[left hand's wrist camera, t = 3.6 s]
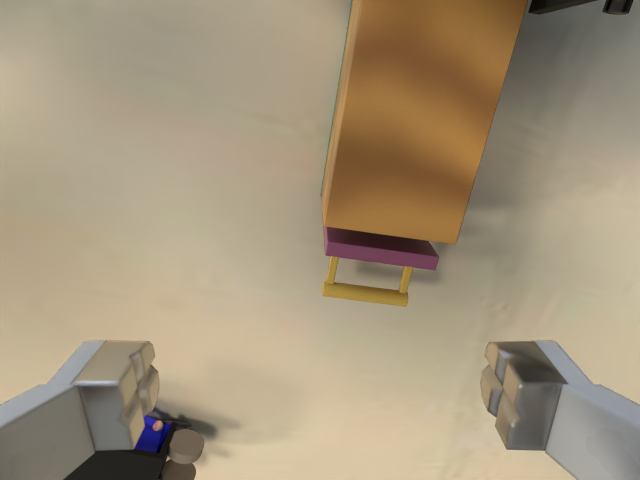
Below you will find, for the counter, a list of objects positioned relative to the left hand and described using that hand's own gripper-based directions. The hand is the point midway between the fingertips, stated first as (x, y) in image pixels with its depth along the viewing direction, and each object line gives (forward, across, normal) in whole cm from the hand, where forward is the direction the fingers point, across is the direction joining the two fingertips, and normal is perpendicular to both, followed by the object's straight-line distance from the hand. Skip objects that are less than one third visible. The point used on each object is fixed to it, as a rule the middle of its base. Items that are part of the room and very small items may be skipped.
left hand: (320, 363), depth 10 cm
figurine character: (+29, +20, +30) cm, 46 cm away
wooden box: (+29, -7, -6) cm, 30 cm away
